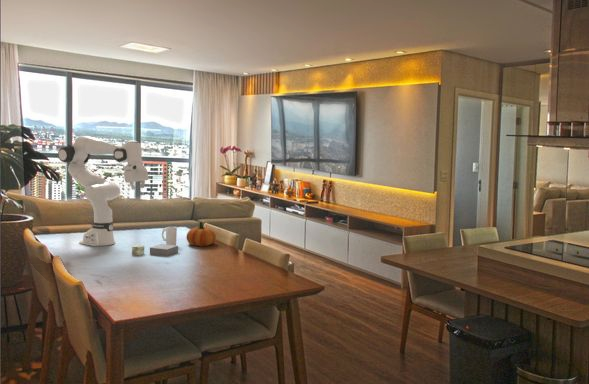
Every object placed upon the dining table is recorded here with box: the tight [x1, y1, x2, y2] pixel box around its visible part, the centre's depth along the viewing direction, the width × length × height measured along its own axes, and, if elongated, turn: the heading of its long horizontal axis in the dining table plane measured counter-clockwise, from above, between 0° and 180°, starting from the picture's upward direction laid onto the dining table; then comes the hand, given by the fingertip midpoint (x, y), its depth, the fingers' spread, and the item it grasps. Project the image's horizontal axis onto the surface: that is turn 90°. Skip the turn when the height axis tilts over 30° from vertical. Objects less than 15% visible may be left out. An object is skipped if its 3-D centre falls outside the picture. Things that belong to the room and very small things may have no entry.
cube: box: [131, 244, 145, 256], centre depth 299 cm, size 5×5×5 cm
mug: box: [161, 226, 178, 246], centre depth 326 cm, size 10×7×12 cm, turn 77°
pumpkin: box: [186, 221, 217, 247], centre depth 332 cm, size 19×19×15 cm
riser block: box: [149, 243, 179, 257], centre depth 304 cm, size 12×12×4 cm
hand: (138, 188), depth 312 cm, fingers open, 8 cm apart
